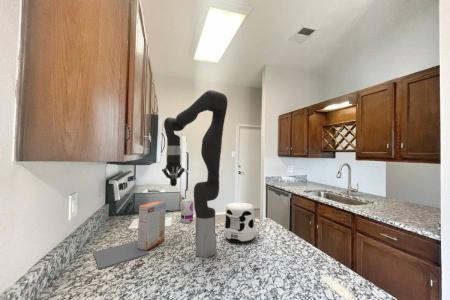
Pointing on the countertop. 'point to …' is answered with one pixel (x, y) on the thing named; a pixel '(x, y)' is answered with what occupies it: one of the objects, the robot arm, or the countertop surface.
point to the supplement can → (187, 211)
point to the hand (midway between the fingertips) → (173, 185)
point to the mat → (118, 254)
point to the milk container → (239, 222)
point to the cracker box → (151, 224)
